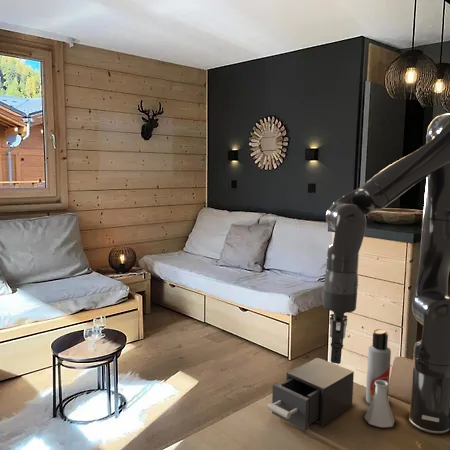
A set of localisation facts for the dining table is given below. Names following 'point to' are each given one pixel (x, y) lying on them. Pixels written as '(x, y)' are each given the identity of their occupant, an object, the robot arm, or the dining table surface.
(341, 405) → the cabinet
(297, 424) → the drawer
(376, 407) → the flask
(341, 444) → the dining table surface
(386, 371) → the lotion bottle
